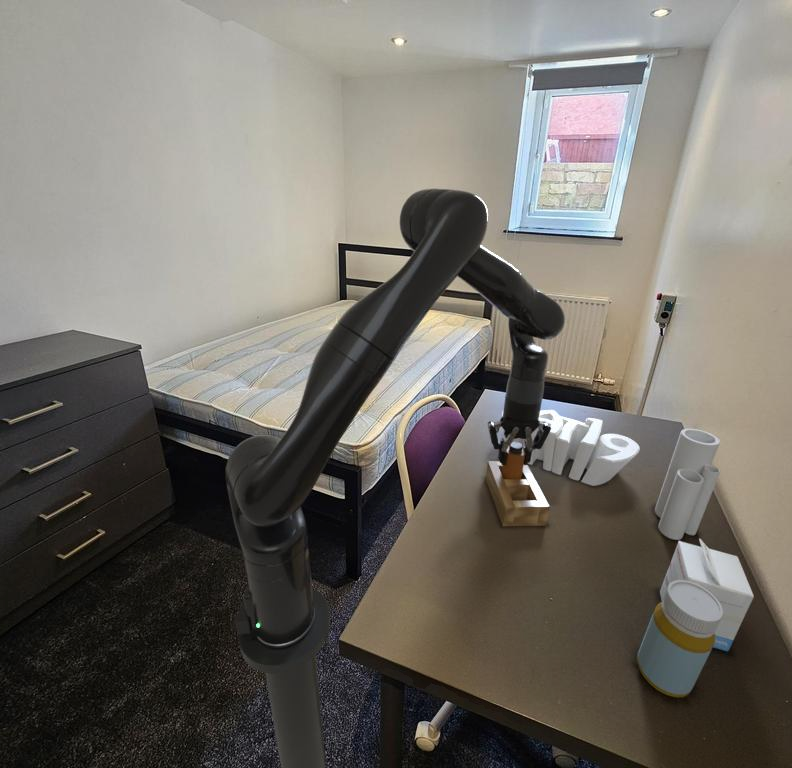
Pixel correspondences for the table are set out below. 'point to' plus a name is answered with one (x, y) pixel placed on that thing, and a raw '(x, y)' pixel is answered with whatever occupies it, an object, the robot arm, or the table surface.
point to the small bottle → (514, 461)
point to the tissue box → (714, 584)
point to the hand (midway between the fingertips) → (513, 462)
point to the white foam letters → (582, 448)
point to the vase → (688, 484)
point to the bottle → (679, 638)
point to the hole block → (517, 497)
